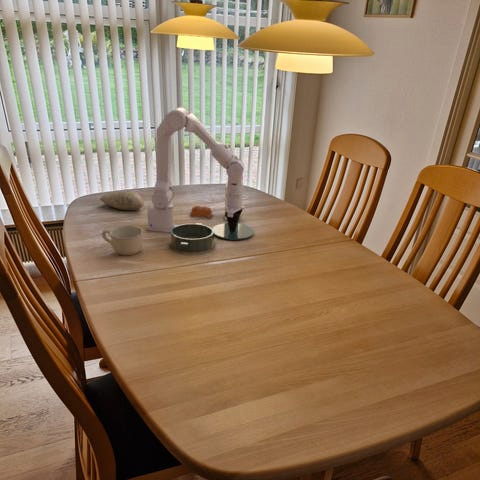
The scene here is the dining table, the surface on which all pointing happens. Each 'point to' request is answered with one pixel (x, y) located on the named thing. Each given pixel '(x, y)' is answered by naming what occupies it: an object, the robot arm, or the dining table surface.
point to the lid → (238, 234)
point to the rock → (123, 200)
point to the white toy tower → (225, 199)
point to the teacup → (125, 239)
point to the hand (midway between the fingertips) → (233, 229)
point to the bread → (201, 211)
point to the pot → (192, 244)
